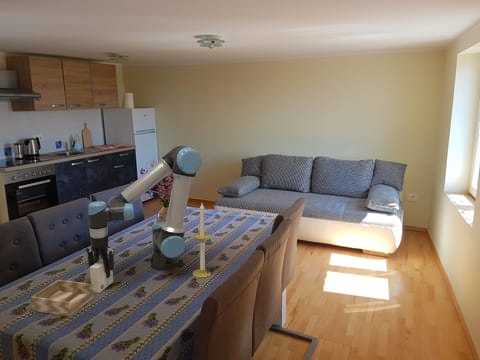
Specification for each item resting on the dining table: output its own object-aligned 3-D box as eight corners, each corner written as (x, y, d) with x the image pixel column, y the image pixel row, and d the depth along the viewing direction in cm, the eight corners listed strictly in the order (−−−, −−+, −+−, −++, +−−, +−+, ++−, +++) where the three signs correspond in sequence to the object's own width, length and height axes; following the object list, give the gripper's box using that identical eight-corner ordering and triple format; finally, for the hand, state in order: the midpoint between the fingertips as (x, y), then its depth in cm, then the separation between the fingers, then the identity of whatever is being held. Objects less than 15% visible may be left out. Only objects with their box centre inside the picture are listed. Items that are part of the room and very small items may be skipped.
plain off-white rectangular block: (113, 281, 175) (112, 258, 173) (100, 292, 165) (98, 268, 163) (105, 280, 176) (104, 257, 174) (91, 291, 166) (89, 267, 163)
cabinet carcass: (94, 296, 162) (93, 284, 160) (70, 316, 146) (68, 302, 145) (59, 291, 166) (58, 279, 164) (32, 310, 150) (30, 297, 149)
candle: (189, 276, 183) (187, 203, 175) (198, 268, 192) (197, 198, 185) (207, 279, 179) (206, 205, 172) (215, 271, 189) (215, 200, 181)
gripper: (120, 234, 167) (123, 281, 172) (87, 231, 171) (91, 277, 176) (111, 240, 160) (114, 289, 165) (77, 236, 164) (81, 284, 169)
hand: (102, 283), depth 170 cm, fingers closed on plain off-white rectangular block, 4 cm apart
